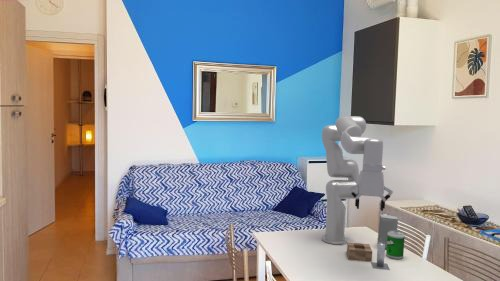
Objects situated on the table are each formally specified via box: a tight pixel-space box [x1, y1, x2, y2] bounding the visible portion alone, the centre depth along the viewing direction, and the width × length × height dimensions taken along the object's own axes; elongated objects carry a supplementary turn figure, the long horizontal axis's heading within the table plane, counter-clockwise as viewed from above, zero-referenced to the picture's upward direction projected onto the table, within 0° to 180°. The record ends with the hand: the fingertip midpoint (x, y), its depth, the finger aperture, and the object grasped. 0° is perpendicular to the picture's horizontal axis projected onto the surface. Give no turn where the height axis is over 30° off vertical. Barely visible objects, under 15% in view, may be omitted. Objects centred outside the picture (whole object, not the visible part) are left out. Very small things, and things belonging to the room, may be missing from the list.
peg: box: [376, 242, 386, 267], centre depth 170 cm, size 3×3×10 cm
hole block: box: [346, 241, 373, 263], centre depth 180 cm, size 10×10×5 cm
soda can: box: [385, 230, 406, 260], centre depth 181 cm, size 8×8×12 cm
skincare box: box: [376, 213, 399, 250], centre depth 194 cm, size 8×7×16 cm
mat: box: [370, 261, 391, 271], centre depth 170 cm, size 7×7×1 cm
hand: (369, 209), depth 163 cm, fingers open, 9 cm apart
